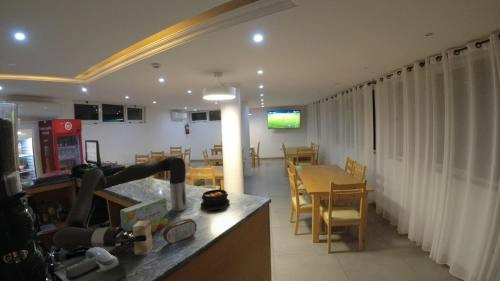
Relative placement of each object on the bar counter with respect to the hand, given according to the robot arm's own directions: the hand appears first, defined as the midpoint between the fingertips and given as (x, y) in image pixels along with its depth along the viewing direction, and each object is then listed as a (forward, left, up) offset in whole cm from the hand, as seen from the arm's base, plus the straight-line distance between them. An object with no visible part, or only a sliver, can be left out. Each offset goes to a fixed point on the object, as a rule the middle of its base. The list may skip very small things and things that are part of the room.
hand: (148, 234), depth 90 cm
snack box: (-19, -3, -7) cm, 20 cm away
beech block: (-1, -2, -7) cm, 7 cm away
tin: (-4, +13, -7) cm, 15 cm away
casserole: (-40, +35, -7) cm, 54 cm away
